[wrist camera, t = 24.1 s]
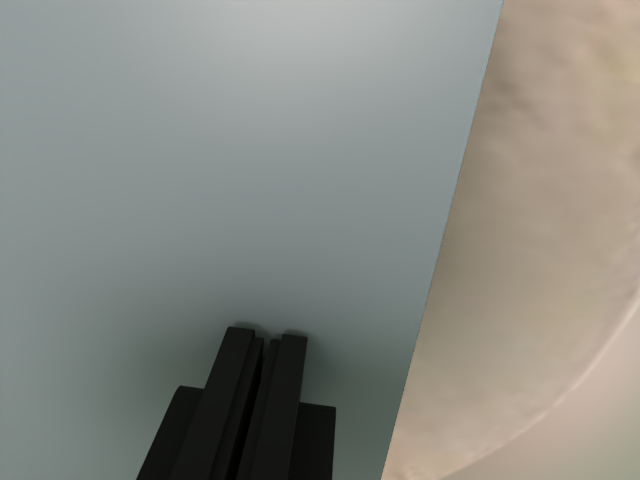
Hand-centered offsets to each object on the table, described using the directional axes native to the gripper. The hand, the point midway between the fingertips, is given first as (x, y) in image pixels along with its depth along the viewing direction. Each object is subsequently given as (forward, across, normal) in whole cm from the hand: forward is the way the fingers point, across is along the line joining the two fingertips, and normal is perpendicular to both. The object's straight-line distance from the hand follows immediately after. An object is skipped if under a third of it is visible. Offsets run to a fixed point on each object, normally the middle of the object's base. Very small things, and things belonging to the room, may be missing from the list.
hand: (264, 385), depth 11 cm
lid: (+2, +10, 0) cm, 10 cm away
